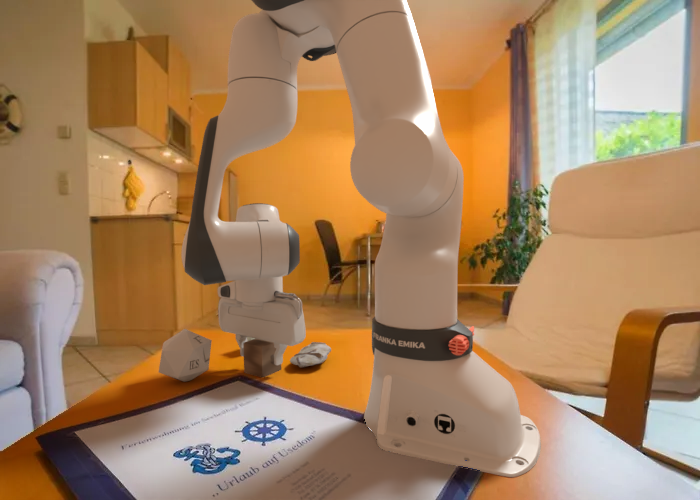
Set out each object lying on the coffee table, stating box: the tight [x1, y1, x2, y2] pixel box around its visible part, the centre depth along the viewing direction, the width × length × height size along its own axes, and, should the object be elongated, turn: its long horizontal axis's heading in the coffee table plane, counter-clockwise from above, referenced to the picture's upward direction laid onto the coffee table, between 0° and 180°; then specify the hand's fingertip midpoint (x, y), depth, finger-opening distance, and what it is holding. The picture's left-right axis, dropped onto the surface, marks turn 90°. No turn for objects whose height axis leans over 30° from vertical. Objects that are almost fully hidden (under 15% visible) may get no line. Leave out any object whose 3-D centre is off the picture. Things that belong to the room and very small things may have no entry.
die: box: [158, 328, 212, 383], centre depth 66 cm, size 8×9×10 cm
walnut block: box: [243, 339, 282, 378], centre depth 71 cm, size 5×5×6 cm
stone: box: [289, 341, 332, 368], centre depth 75 cm, size 10×7×3 cm
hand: (261, 359), depth 71 cm, fingers open, 7 cm apart
